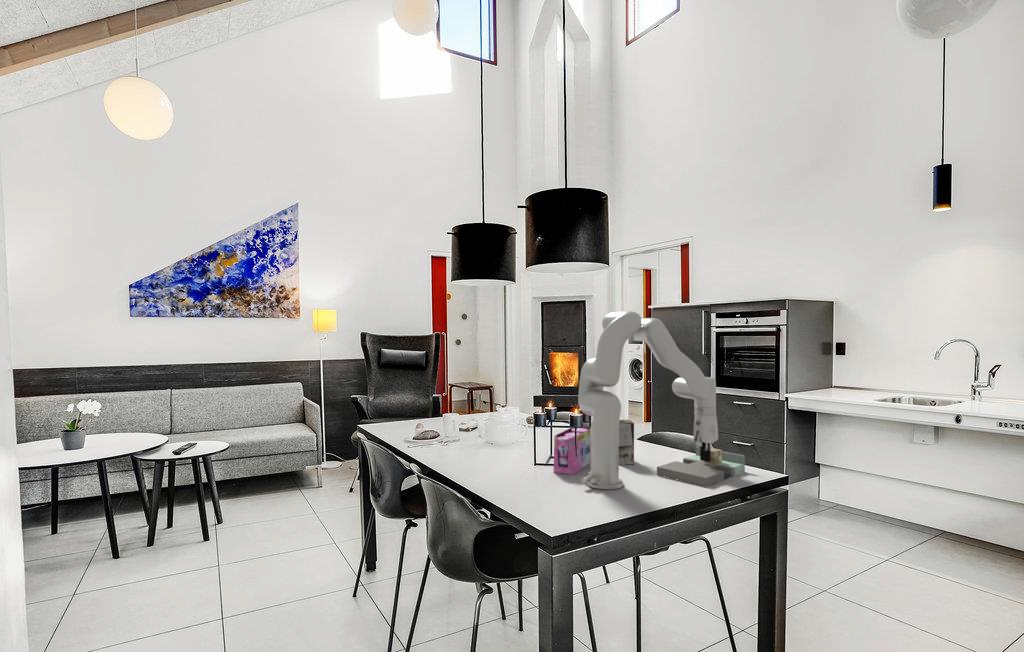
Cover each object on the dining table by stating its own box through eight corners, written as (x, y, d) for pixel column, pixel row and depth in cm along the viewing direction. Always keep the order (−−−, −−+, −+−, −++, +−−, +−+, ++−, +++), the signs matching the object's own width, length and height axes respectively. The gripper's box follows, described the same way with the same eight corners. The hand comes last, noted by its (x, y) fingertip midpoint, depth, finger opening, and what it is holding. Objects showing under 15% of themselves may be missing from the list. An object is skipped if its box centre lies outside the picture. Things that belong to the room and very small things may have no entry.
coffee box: (634, 465, 206) (634, 423, 206) (618, 464, 206) (617, 423, 206) (630, 459, 215) (629, 419, 215) (614, 459, 215) (613, 419, 215)
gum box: (572, 476, 191) (572, 438, 191) (551, 473, 194) (551, 436, 194) (592, 461, 212) (592, 427, 212) (573, 459, 216) (573, 425, 216)
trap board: (706, 486, 177) (706, 468, 177) (656, 475, 191) (656, 458, 191) (744, 471, 196) (744, 455, 196) (696, 462, 210) (696, 446, 210)
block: (714, 464, 195) (714, 451, 195) (704, 461, 198) (703, 449, 198) (721, 462, 198) (721, 450, 198) (710, 459, 201) (710, 448, 201)
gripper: (704, 414, 188) (704, 466, 188) (724, 409, 198) (725, 459, 197) (685, 411, 193) (685, 462, 193) (705, 407, 203) (706, 455, 203)
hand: (705, 460), depth 195 cm, fingers closed
